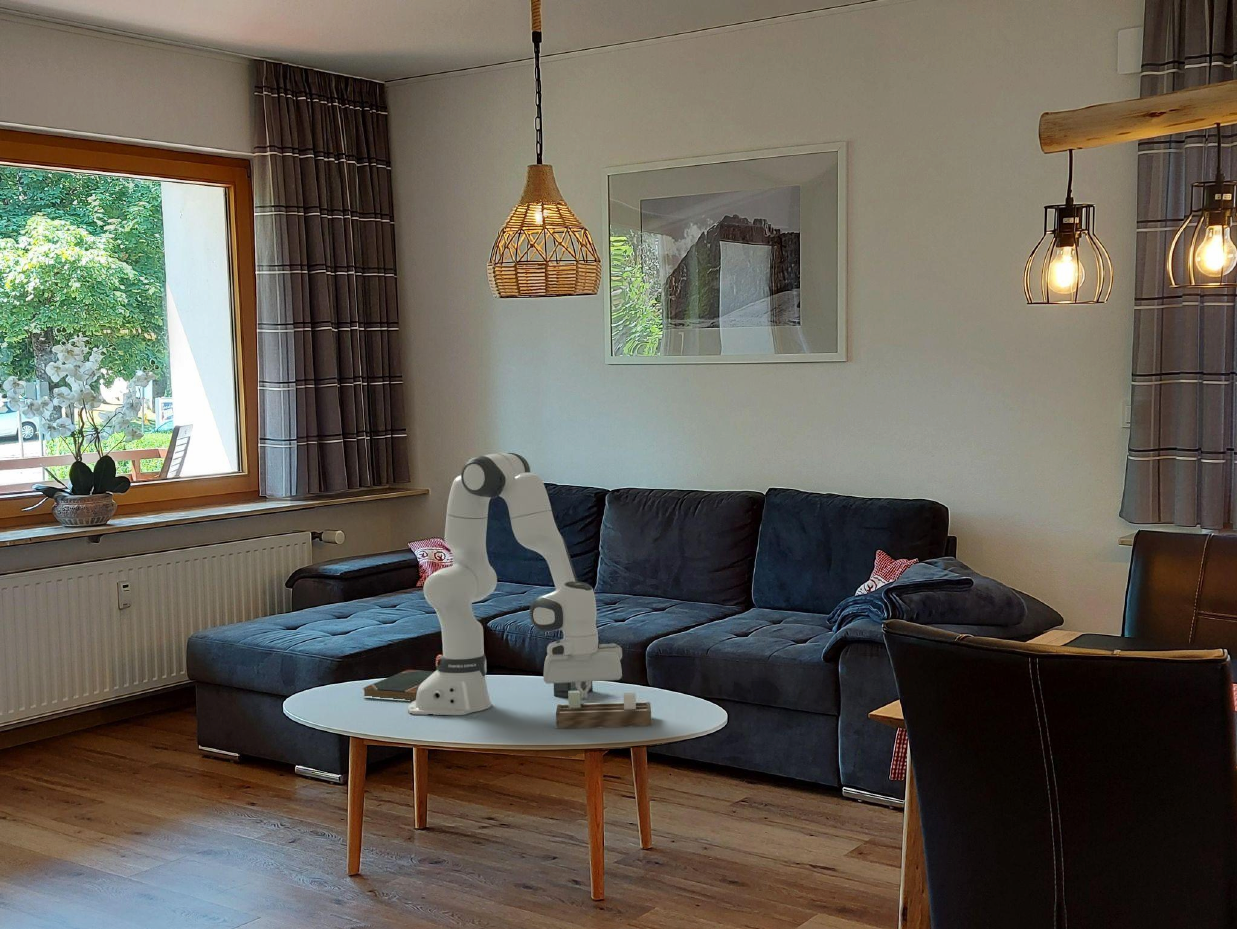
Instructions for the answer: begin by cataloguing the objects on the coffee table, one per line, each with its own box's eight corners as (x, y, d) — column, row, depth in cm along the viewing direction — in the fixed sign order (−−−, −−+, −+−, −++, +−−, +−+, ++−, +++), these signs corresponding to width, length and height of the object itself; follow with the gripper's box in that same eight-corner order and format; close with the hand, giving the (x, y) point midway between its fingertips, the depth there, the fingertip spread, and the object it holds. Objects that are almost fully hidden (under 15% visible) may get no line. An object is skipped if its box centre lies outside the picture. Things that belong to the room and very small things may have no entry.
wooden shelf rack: (556, 728, 319) (555, 712, 319) (558, 719, 328) (557, 703, 328) (651, 726, 319) (650, 709, 319) (650, 717, 328) (650, 701, 328)
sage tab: (568, 714, 324) (568, 693, 324) (569, 712, 327) (568, 690, 326) (580, 714, 324) (579, 692, 324) (580, 711, 327) (580, 690, 326)
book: (407, 681, 382) (362, 700, 358) (407, 669, 381) (361, 687, 358) (459, 684, 375) (415, 704, 352) (458, 672, 375) (415, 691, 352)
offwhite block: (624, 716, 320) (623, 695, 320) (624, 714, 323) (623, 692, 322) (636, 716, 320) (635, 694, 320) (635, 714, 323) (635, 692, 322)
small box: (575, 688, 363) (574, 652, 362) (593, 691, 359) (592, 654, 358) (552, 696, 354) (551, 659, 354) (570, 699, 350) (569, 661, 350)
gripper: (621, 640, 328) (624, 693, 329) (542, 645, 328) (545, 697, 328) (621, 645, 322) (624, 699, 322) (541, 649, 322) (544, 703, 322)
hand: (584, 698), depth 325 cm, fingers closed
